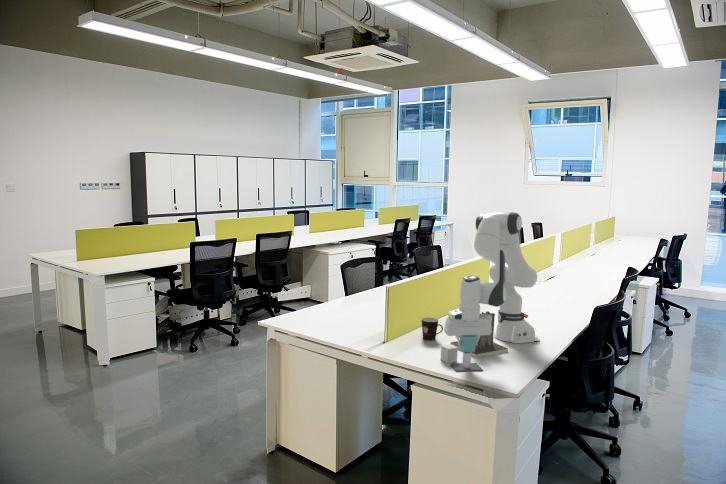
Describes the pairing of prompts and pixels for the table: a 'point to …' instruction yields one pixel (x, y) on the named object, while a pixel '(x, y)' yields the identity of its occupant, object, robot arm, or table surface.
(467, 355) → the stand
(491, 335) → the building model
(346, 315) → the table surface
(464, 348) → the teal block
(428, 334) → the coffee mug
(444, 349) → the light grey block
